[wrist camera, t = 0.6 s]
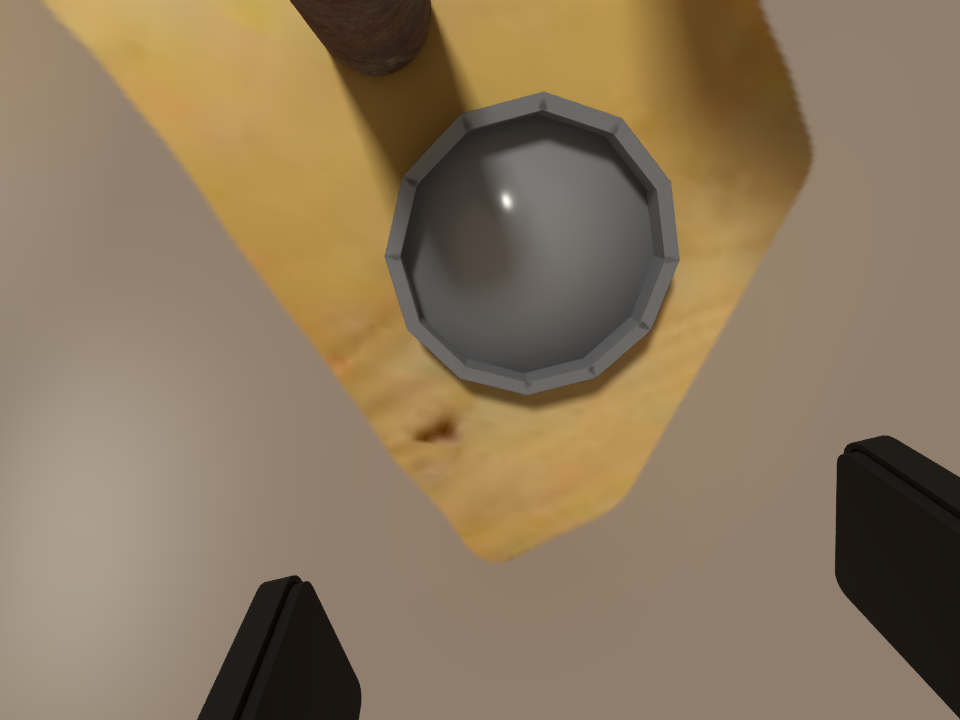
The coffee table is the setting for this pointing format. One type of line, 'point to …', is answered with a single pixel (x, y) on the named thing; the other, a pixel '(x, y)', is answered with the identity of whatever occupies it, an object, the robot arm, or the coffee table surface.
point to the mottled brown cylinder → (369, 31)
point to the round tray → (532, 244)
